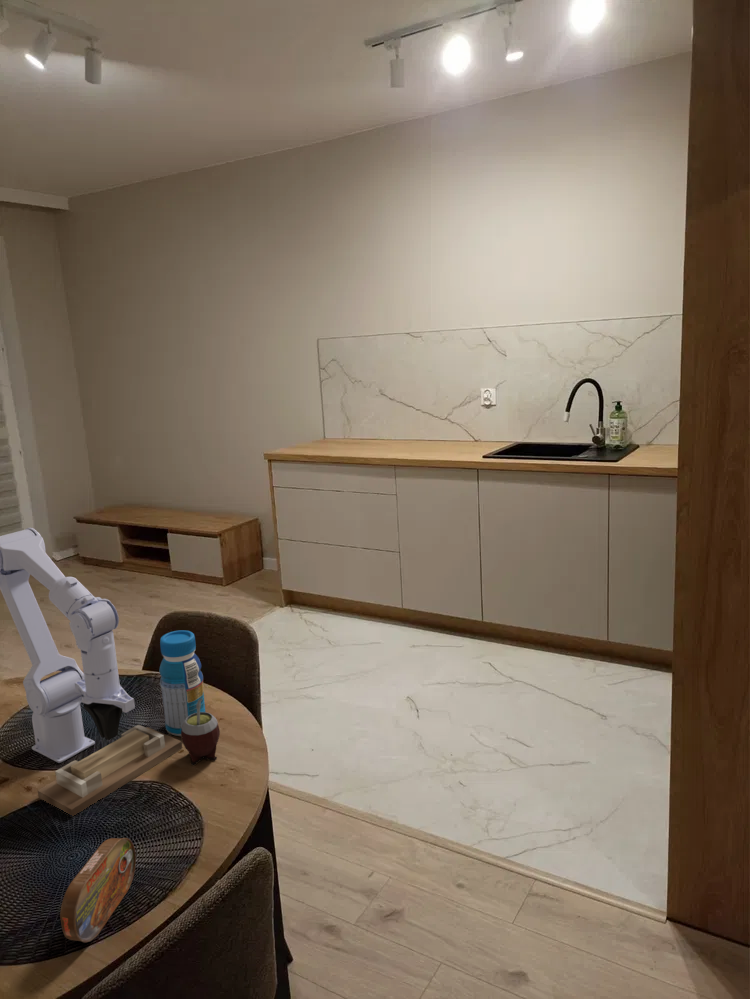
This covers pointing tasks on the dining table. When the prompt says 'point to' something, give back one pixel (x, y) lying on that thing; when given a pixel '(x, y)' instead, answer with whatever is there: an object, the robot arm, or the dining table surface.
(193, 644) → the beverage bottle
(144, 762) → the endcap rail
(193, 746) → the mate gourd
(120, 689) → the robot arm
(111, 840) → the tin
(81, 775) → the slat
